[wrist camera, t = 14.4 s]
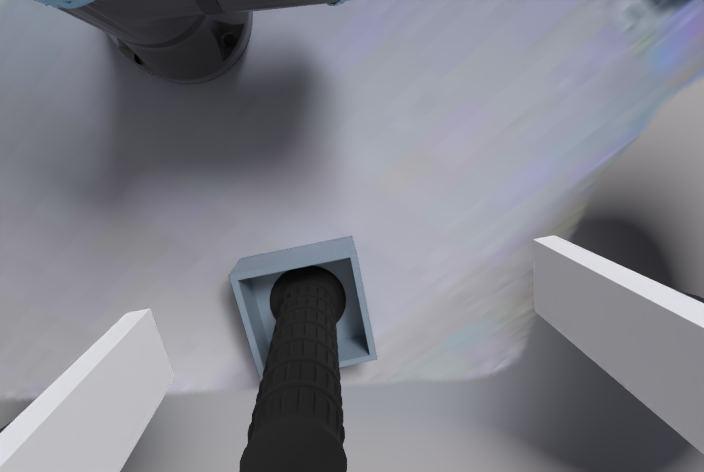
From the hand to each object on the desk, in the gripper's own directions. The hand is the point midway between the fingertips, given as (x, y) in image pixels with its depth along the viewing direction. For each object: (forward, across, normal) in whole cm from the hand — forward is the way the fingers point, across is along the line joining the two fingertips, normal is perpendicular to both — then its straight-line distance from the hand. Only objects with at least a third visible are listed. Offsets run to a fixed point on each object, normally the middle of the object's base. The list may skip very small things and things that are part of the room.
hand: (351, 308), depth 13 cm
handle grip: (+33, -6, -15) cm, 37 cm away
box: (+34, -6, -15) cm, 38 cm away
